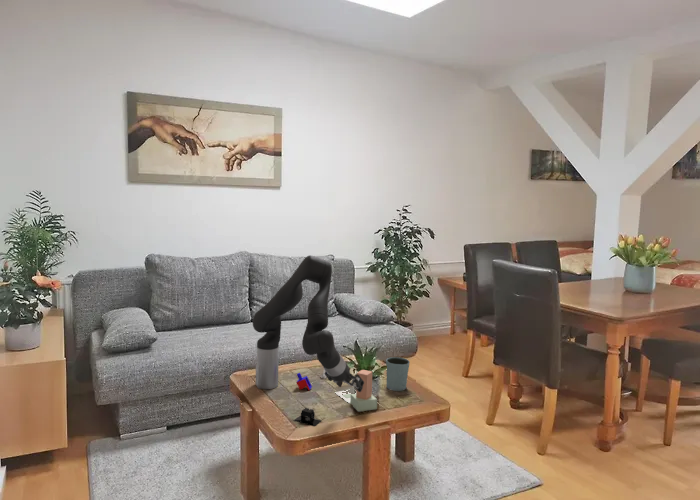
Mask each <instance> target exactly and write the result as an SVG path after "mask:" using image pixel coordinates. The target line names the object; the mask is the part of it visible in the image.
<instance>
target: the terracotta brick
mask: <svg viewBox="0 0 700 500" xmlns="http://www.w3.org/2000/svg"><path fill="white" fill-rule="evenodd" d="M356 375H359V376H360V377H361V379H362V380H363V381H364V385H363V389H362V391H361V392H358V390H357V389H356V388H355V391H356V397H357V398H361V399H365V400H367V399H368V398H370V397H371V396H372V395H373V393H372V392H373V391H372V390H373V371H371V370H365V369H361V370H359V371H358V372H356Z"/></svg>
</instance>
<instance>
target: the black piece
mask: <svg viewBox="0 0 700 500" xmlns="http://www.w3.org/2000/svg"><path fill="white" fill-rule="evenodd" d="M315 416H316V415H315V410H314V409H312V408H309V407H305V408H303V409H302V410H301V412H300V415H299V416H297V417H296V418H294V419H293V420H292V421H293V422H297V423H300V424H304V425H308V426H311V427H317V426H318V425H319V424H320V423H322V422H323V420H322V419H318V418H315Z"/></svg>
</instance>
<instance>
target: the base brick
mask: <svg viewBox="0 0 700 500" xmlns="http://www.w3.org/2000/svg"><path fill="white" fill-rule="evenodd" d="M349 404H350V405H351V404H352V405H353V406H352V405H351V406H352V407H353V408H354V409H355V410H356V411H357V412H364V411H371V410H373V411H374V410H377V409H378V399H377V398H376V396H374V394H372V396H371V397H370V398H368V399H367V400H365V399H361V398H357V397H356V393H355V394H351V399H350V403H349Z"/></svg>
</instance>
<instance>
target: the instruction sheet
mask: <svg viewBox="0 0 700 500" xmlns="http://www.w3.org/2000/svg"><path fill="white" fill-rule="evenodd" d="M345 390H346V391H348V390H349V389H345ZM346 391H344V390H339V391H336V392H334V394H335V393H336V394H335V395H336V396H338V397H339V396H340V397H339V398H341V399H342V398H343V399H344V400H343V399H342V400H343V401H345V402H346V403H347V402H348V403H347V404H350V399H351V393H349V392H348V394H346V393H342V392H346ZM342 394H343V395H342Z"/></svg>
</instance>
